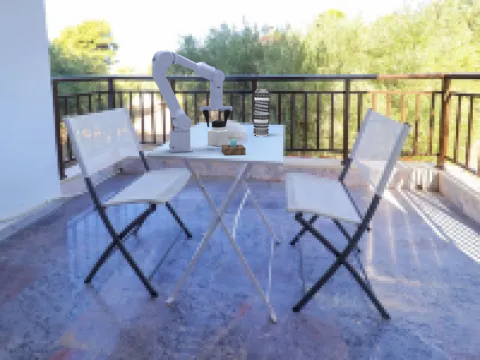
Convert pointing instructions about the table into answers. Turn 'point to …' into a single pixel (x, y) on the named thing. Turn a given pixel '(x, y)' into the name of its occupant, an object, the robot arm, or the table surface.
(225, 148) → the socket block
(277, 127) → the table surface
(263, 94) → the decorative candle
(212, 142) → the medicine bottle
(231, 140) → the peg
